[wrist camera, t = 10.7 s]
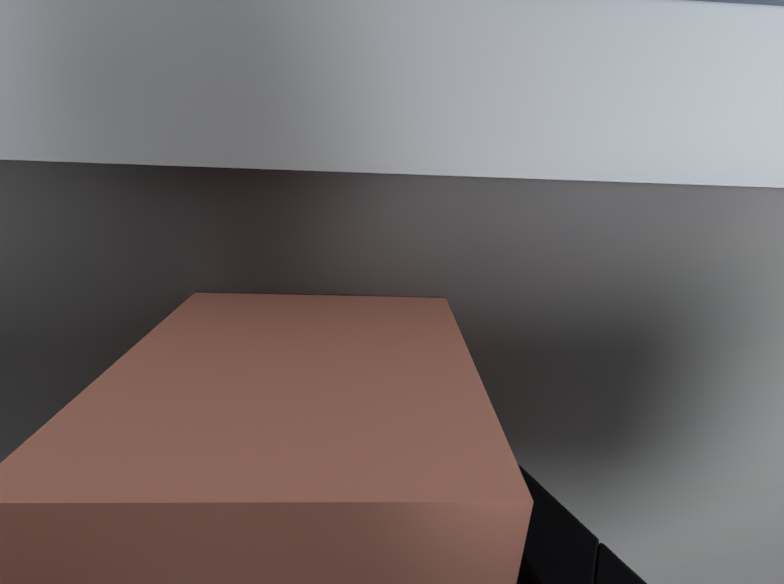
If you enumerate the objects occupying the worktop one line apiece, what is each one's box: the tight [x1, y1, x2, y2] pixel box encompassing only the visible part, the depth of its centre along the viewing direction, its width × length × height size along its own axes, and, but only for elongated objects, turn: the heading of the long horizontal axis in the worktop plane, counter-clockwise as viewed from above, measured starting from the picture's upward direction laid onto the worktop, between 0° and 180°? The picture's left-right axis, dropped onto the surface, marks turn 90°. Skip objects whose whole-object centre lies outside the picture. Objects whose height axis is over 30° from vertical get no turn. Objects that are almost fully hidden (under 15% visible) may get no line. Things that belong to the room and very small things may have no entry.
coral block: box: [0, 292, 534, 584], centre depth 7 cm, size 5×5×5 cm
